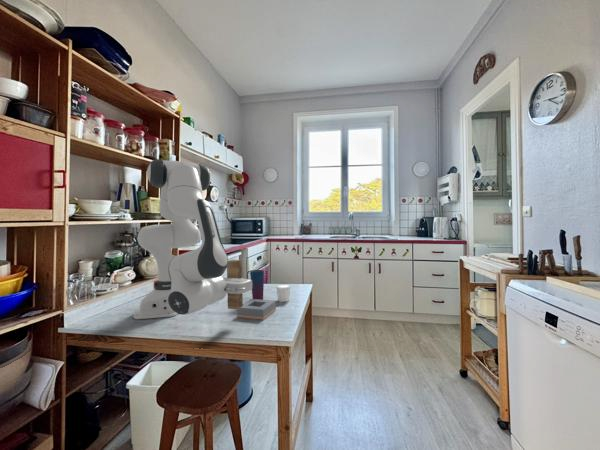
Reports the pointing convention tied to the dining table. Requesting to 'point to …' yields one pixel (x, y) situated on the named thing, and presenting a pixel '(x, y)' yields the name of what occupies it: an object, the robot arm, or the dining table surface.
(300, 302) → the dining table surface
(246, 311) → the end cap
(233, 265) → the block
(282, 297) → the shot glass
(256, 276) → the cup
